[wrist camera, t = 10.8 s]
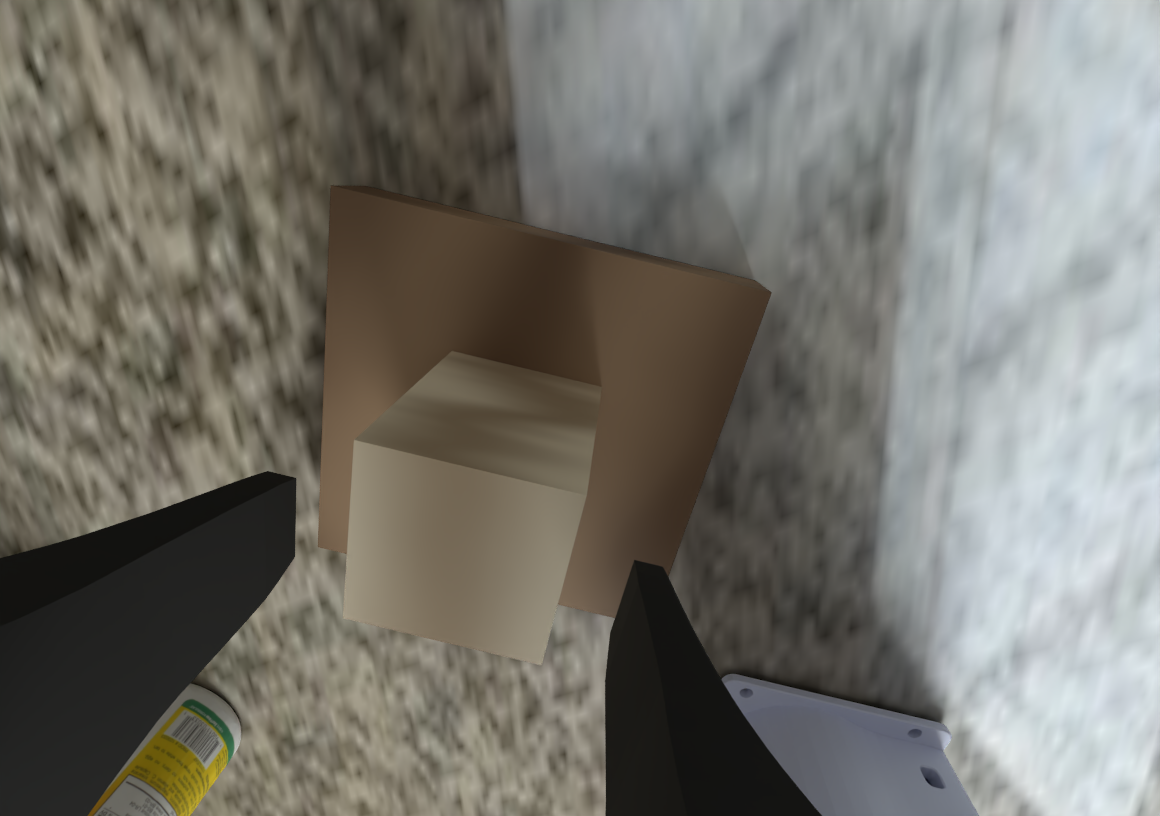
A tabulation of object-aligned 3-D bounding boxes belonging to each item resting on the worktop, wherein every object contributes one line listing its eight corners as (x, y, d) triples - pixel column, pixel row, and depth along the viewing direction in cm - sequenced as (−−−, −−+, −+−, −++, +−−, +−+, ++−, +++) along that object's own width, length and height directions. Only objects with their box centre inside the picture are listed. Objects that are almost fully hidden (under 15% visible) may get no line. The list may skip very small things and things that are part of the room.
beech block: (601, 386, 16) (586, 495, 10) (569, 513, 17) (541, 665, 12) (451, 351, 16) (353, 439, 10) (434, 480, 17) (342, 618, 12)
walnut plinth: (755, 280, 16) (771, 292, 14) (648, 587, 21) (650, 626, 19) (365, 186, 16) (330, 185, 14) (345, 514, 21) (317, 546, 19)
